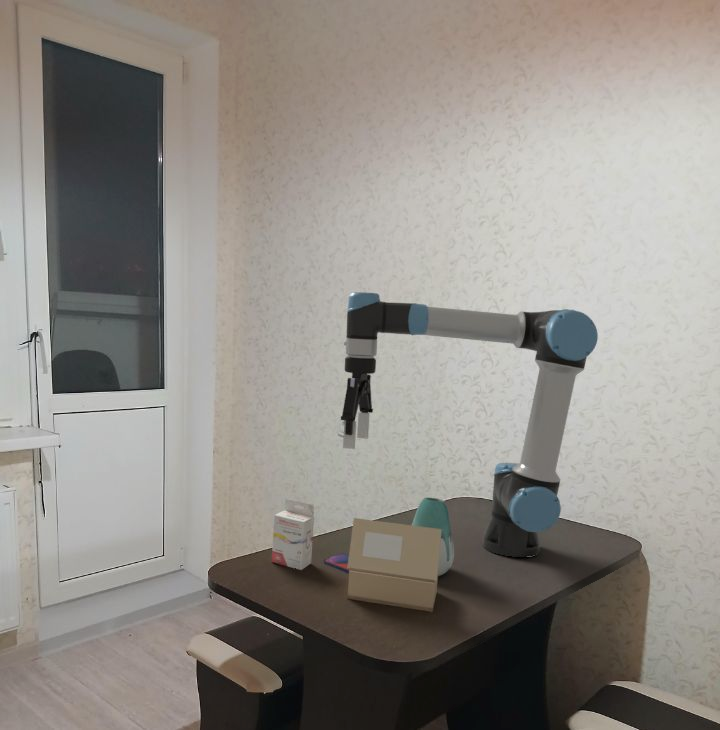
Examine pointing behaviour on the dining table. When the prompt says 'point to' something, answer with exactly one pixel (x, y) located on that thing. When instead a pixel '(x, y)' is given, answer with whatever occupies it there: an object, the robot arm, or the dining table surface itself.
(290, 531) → the ink cartridge box
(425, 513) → the vase
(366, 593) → the box
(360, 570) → the lid
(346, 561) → the smartphone
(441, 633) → the dining table surface
